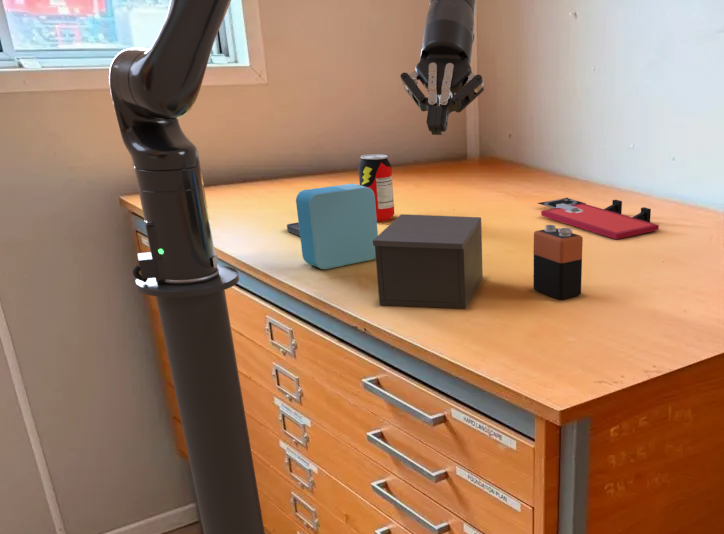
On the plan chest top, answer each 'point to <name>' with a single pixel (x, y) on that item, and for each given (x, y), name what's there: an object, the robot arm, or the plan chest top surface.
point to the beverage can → (378, 183)
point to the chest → (429, 274)
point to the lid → (428, 232)
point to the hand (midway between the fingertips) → (436, 131)
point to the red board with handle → (600, 218)
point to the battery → (557, 262)
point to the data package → (337, 225)
